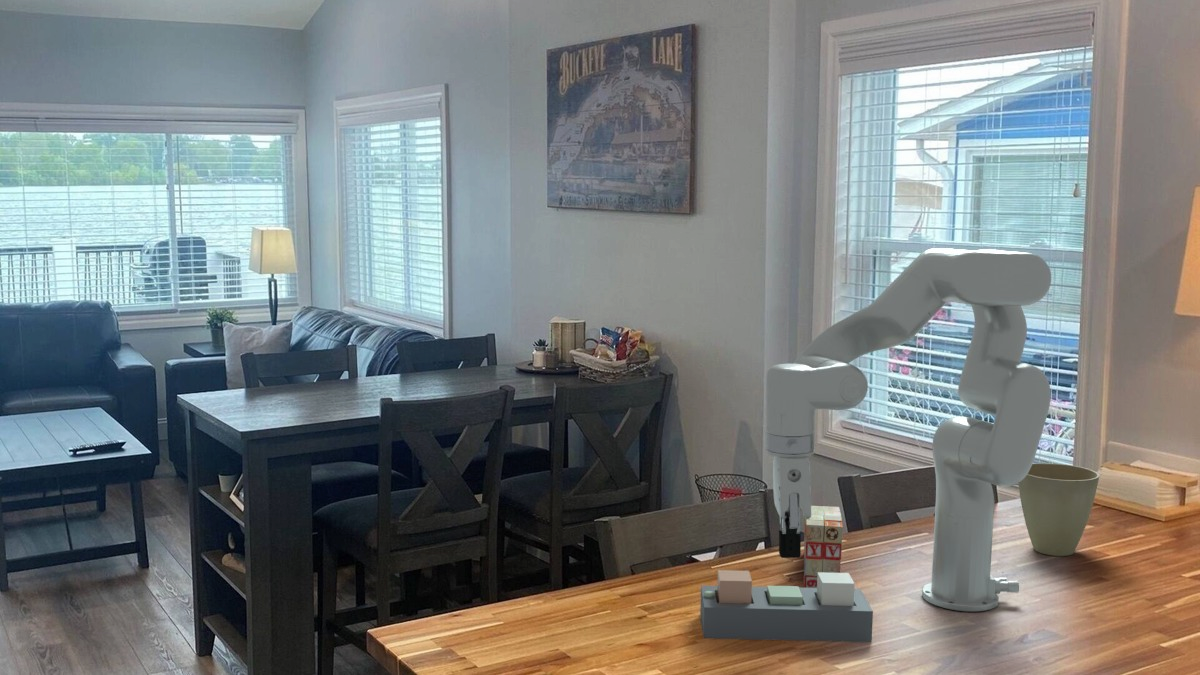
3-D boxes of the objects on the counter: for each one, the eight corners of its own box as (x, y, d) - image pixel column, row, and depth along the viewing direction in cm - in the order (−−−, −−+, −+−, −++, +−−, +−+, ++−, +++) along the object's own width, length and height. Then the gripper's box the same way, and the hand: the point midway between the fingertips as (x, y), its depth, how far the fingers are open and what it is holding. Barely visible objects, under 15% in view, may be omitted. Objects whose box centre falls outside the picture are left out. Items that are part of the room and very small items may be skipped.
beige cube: (748, 600, 186) (748, 570, 185) (751, 611, 181) (751, 581, 180) (717, 600, 186) (717, 570, 185) (719, 611, 181) (719, 580, 180)
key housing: (859, 618, 188) (860, 585, 187) (871, 642, 178) (873, 607, 177) (700, 614, 189) (701, 581, 188) (703, 638, 179) (704, 603, 178)
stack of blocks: (803, 554, 222) (805, 491, 220) (836, 556, 221) (838, 493, 219) (803, 591, 201) (806, 523, 199) (840, 594, 200) (842, 525, 198)
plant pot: (1100, 547, 227) (1105, 468, 225) (1086, 567, 215) (1092, 484, 213) (1021, 534, 235) (1026, 458, 233) (1004, 553, 223) (1008, 473, 221)
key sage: (797, 616, 186) (798, 586, 185) (801, 627, 181) (802, 597, 180) (766, 615, 186) (767, 585, 185) (769, 626, 181) (770, 596, 180)
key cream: (847, 602, 185) (848, 573, 185) (853, 614, 180) (854, 583, 180) (816, 602, 185) (817, 572, 185) (821, 613, 180) (822, 582, 180)
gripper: (821, 454, 172) (820, 572, 175) (807, 432, 187) (806, 541, 190) (771, 454, 172) (771, 572, 175) (761, 432, 187) (761, 541, 190)
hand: (789, 555), depth 182 cm, fingers closed
